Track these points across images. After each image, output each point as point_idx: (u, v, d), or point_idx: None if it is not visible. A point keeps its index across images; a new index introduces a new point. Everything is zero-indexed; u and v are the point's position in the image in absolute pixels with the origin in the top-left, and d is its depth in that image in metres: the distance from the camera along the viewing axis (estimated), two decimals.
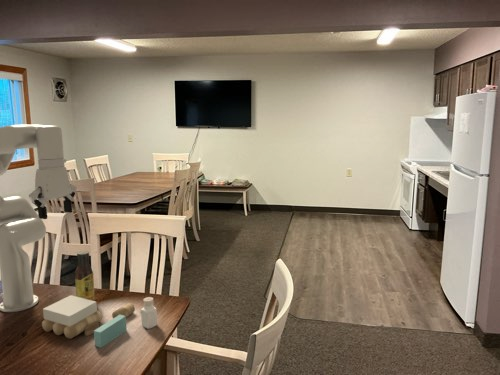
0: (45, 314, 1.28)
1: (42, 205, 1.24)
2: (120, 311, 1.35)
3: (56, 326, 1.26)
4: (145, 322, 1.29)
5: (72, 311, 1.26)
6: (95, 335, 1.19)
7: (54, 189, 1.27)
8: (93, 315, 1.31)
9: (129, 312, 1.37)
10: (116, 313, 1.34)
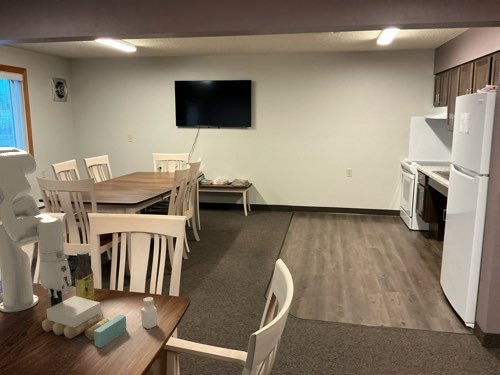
0: (49, 315, 1.27)
1: (50, 295, 1.32)
2: (95, 329, 1.24)
3: (56, 326, 1.26)
4: (145, 322, 1.29)
5: (76, 312, 1.25)
6: (95, 335, 1.19)
7: (44, 279, 1.30)
8: None
9: None
10: (91, 330, 1.23)
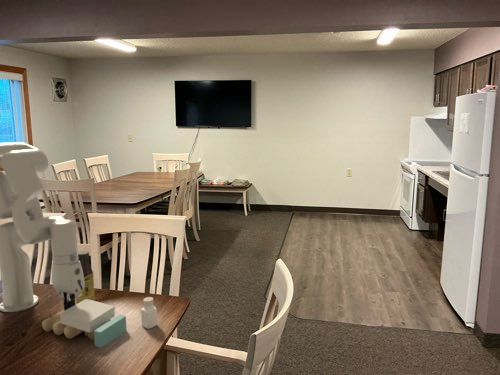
0: (62, 319, 1.25)
1: (63, 298, 1.29)
2: None
3: (56, 326, 1.26)
4: (145, 322, 1.29)
5: (92, 316, 1.23)
6: (95, 335, 1.19)
7: (57, 282, 1.28)
8: None
9: None
10: None
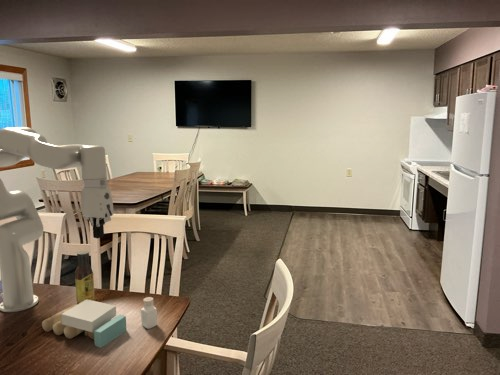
0: (64, 319, 1.24)
1: (92, 224, 1.31)
2: None
3: (56, 326, 1.26)
4: (145, 322, 1.29)
5: (94, 316, 1.23)
6: (95, 335, 1.19)
7: (87, 207, 1.29)
8: None
9: None
10: None
